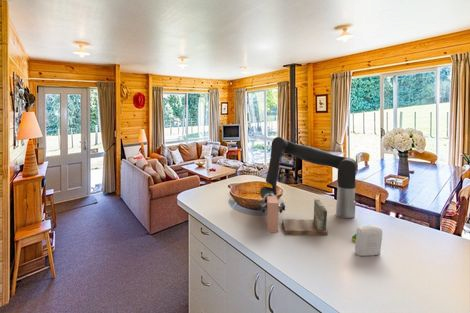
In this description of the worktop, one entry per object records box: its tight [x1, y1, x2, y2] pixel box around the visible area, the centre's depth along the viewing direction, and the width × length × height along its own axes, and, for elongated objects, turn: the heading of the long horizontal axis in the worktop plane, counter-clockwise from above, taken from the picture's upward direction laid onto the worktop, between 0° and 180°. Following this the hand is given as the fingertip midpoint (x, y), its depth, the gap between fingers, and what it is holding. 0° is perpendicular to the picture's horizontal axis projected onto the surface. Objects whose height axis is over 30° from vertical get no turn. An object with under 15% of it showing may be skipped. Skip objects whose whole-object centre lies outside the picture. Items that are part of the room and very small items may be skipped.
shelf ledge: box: [282, 198, 329, 236], centre depth 132 cm, size 20×14×14 cm
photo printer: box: [354, 224, 383, 257], centre depth 108 cm, size 10×4×12 cm, turn 98°
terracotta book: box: [266, 195, 280, 233], centre depth 134 cm, size 5×11×15 cm, turn 176°
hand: (272, 211), depth 134 cm, fingers open, 8 cm apart
